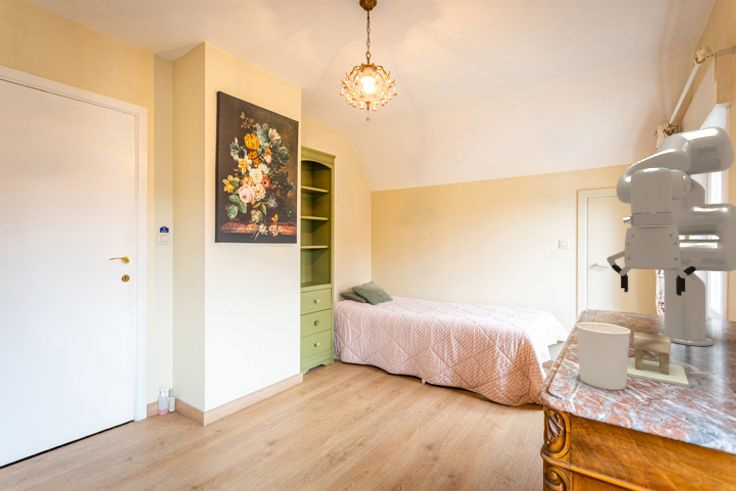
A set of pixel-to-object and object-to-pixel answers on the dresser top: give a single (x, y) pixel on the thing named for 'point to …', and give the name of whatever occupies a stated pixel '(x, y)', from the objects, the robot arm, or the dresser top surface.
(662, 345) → the footstool
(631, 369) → the felt mat
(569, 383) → the dresser top surface
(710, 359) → the dresser top surface
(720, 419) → the dresser top surface
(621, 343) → the candle holder
